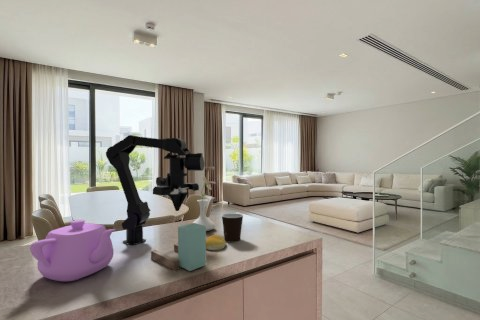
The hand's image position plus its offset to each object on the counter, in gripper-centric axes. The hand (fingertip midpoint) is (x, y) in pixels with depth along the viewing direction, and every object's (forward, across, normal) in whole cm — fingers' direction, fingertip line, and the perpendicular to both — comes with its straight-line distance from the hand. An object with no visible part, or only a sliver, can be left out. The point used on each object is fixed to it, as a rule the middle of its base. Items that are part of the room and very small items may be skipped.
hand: (177, 210), depth 101 cm
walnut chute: (+13, +10, +11) cm, 20 cm away
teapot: (+13, +33, -5) cm, 36 cm away
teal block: (+13, +12, +20) cm, 26 cm away
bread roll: (+14, -6, +13) cm, 20 cm away
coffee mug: (+13, -18, +14) cm, 26 cm away
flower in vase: (+13, -21, -6) cm, 26 cm away
